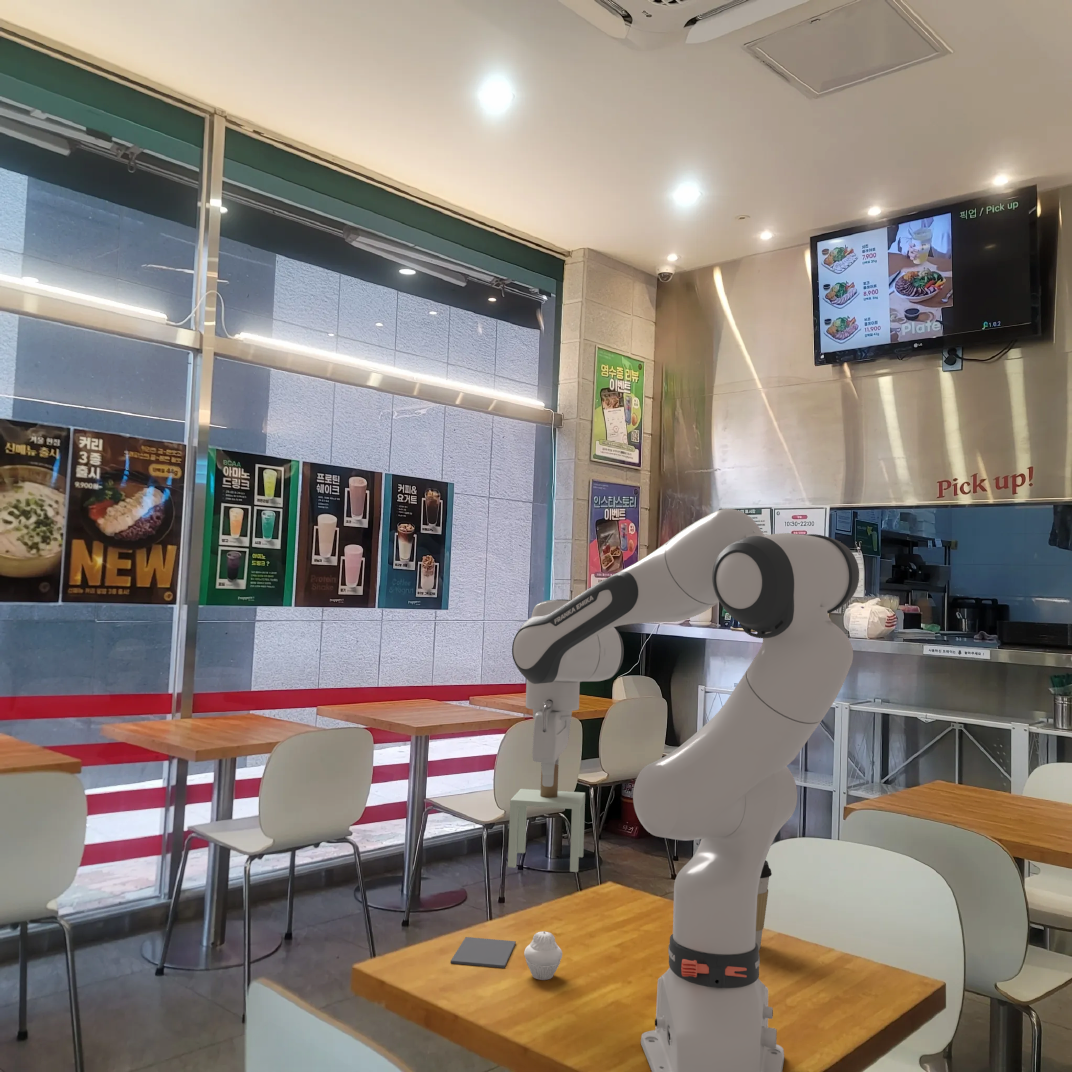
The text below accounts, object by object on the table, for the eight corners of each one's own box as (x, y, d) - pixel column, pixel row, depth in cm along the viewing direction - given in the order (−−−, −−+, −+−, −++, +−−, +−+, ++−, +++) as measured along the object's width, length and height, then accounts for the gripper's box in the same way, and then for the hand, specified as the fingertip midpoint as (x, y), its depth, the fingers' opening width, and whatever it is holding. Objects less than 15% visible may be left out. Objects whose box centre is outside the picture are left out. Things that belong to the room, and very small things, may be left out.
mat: (504, 968, 150) (504, 965, 150) (450, 963, 151) (450, 960, 151) (515, 943, 162) (515, 941, 162) (465, 939, 163) (465, 936, 163)
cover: (577, 872, 143) (580, 771, 144) (507, 867, 144) (511, 767, 146) (583, 855, 154) (586, 762, 155) (518, 851, 155) (521, 758, 157)
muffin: (554, 967, 151) (555, 923, 152) (567, 981, 145) (568, 936, 146) (518, 970, 149) (520, 926, 150) (530, 985, 143) (531, 938, 144)
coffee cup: (722, 933, 172) (724, 851, 173) (775, 943, 168) (776, 858, 169) (708, 948, 163) (710, 862, 165) (764, 959, 159) (765, 870, 160)
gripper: (565, 703, 141) (562, 795, 139) (576, 695, 161) (574, 776, 160) (524, 701, 142) (521, 793, 140) (541, 693, 162) (538, 773, 160)
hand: (549, 783), depth 150 cm, fingers closed on cover, 3 cm apart
